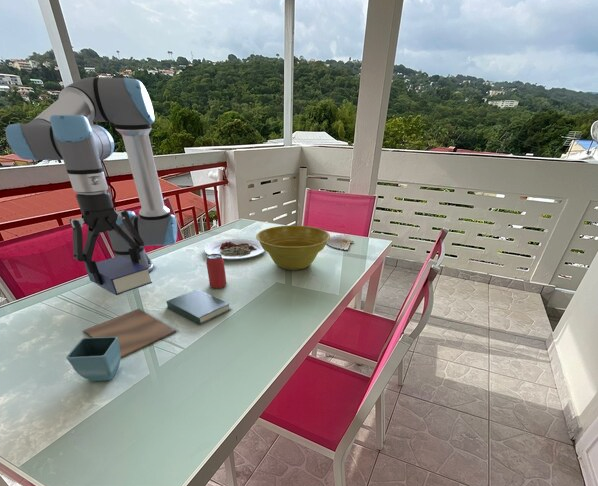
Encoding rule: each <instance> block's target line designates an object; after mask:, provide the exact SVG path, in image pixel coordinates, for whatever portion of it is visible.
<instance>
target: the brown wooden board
mask: <svg viewBox="0 0 598 486" xmlns="http://www.w3.org/2000/svg"><path fill="white" fill-rule="evenodd" d="M83 332H84V333H86V334H87V335H89V336H90V338H96V337H118V342H119V347H120V353H121V359H122V358H124V357H126V356H128V355H130V354H132V353H134V352H136V351H139V350H140V349H143V348H144V347H147V346H149V345H151V344H153V343H156V342H158V341H160V340H162V339H164V338H167V337H169V336H170V335H173V334H174V333H176V332H177V330H175V329H174V328H172V327H170V326H168V325H167V324H165V323H163V322H162V321H160V320H159V319H156V318H155V317H153V316H151V315H149V314H148V313H146V312H145V311H142V310H141V309H139V308H137V309H134V310H132V311H129V312H126V313H124V314H121V315H119V316H116V317H114V318H111V319H108V320H106V321H103V322H101V323H97V324H96V325H93V326H91V327H88V328H85V329H84V330H83Z"/></svg>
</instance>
